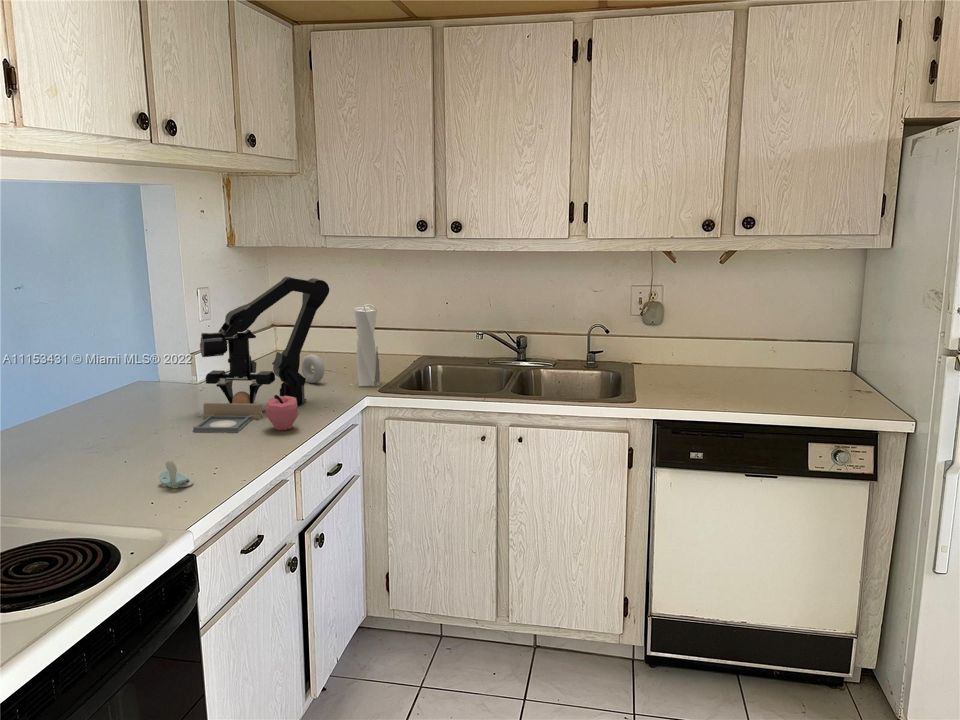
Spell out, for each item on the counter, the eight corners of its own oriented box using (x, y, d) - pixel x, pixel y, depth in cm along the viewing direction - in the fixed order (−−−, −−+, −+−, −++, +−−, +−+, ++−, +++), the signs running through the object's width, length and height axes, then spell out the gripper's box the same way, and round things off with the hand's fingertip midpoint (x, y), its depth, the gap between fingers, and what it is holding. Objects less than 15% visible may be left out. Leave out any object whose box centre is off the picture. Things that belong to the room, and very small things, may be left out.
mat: (251, 419, 204) (251, 415, 203) (237, 432, 192) (237, 428, 192) (209, 419, 204) (209, 415, 203) (192, 432, 192) (192, 427, 192)
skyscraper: (380, 387, 241) (378, 304, 235) (355, 388, 240) (353, 304, 234) (380, 381, 249) (378, 301, 243) (356, 382, 248) (354, 301, 242)
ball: (254, 407, 216) (253, 389, 215) (248, 412, 211) (247, 394, 210) (236, 407, 216) (235, 389, 215) (229, 412, 211) (228, 393, 210)
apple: (298, 433, 192) (296, 397, 190) (264, 435, 190) (262, 398, 188) (300, 423, 201) (299, 388, 199) (268, 424, 200) (266, 389, 198)
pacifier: (182, 477, 161) (156, 484, 156) (181, 450, 160) (155, 456, 155) (199, 486, 156) (172, 493, 152) (198, 458, 155) (171, 464, 150)
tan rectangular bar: (262, 416, 207) (262, 402, 206) (259, 419, 204) (258, 405, 203) (207, 415, 207) (206, 402, 206) (203, 418, 204) (202, 404, 203)
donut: (327, 384, 245) (326, 355, 243) (319, 386, 242) (318, 357, 240) (307, 379, 251) (306, 351, 249) (299, 381, 248) (298, 353, 246)
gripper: (279, 349, 218) (281, 399, 221) (217, 348, 218) (220, 398, 221) (268, 356, 207) (270, 409, 210) (203, 355, 207) (206, 408, 210)
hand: (242, 405), depth 213 cm, fingers closed on ball, 5 cm apart
